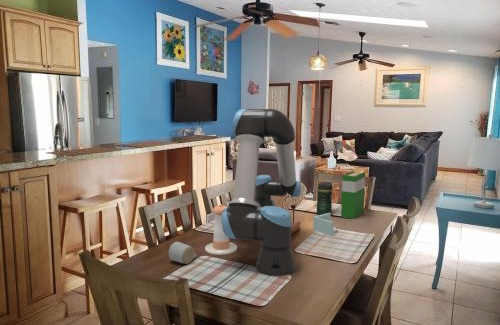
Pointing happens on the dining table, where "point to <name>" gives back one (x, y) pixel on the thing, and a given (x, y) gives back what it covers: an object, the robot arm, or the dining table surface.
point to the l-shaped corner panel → (324, 224)
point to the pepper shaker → (219, 230)
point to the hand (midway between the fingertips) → (217, 221)
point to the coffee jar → (324, 198)
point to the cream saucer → (211, 250)
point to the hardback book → (353, 194)
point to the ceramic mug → (181, 253)
